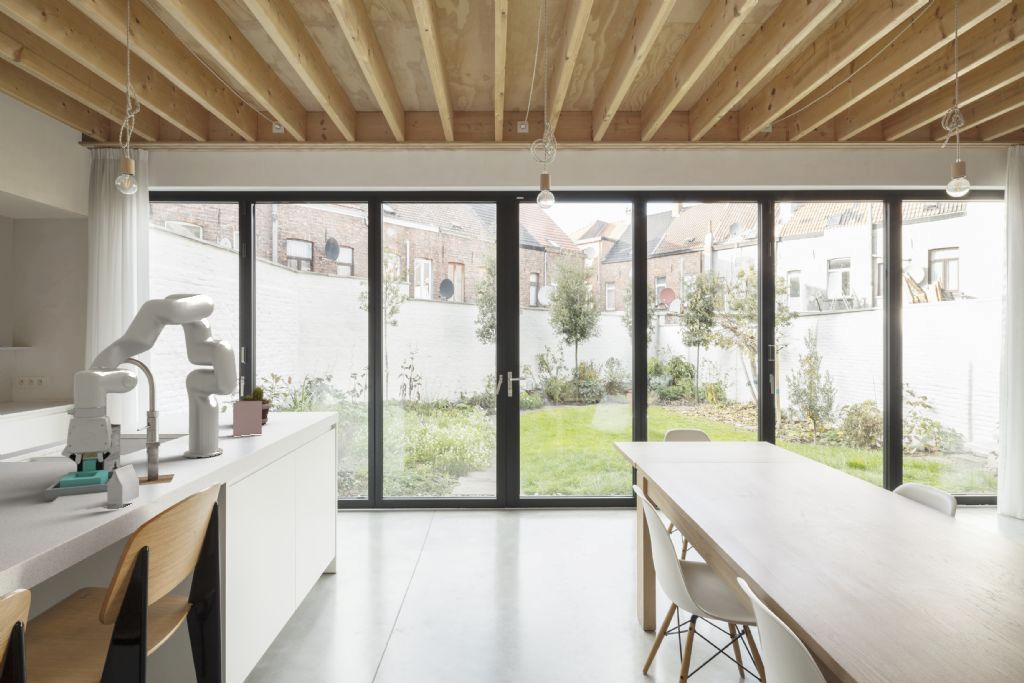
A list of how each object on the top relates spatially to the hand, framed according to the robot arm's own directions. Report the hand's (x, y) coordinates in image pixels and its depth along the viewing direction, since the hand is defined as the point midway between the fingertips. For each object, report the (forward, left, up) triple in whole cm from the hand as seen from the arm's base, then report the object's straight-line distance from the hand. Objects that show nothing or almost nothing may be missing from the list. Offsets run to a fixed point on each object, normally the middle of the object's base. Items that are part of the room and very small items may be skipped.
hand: (90, 475), depth 160 cm
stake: (+5, +16, -3) cm, 17 cm away
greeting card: (-66, +41, -3) cm, 78 cm away
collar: (+4, 0, -1) cm, 4 cm away
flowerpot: (-96, +45, -3) cm, 107 cm away
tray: (+5, 0, -3) cm, 6 cm away
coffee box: (-11, 0, -3) cm, 12 cm away
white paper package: (+25, +12, -3) cm, 27 cm away
